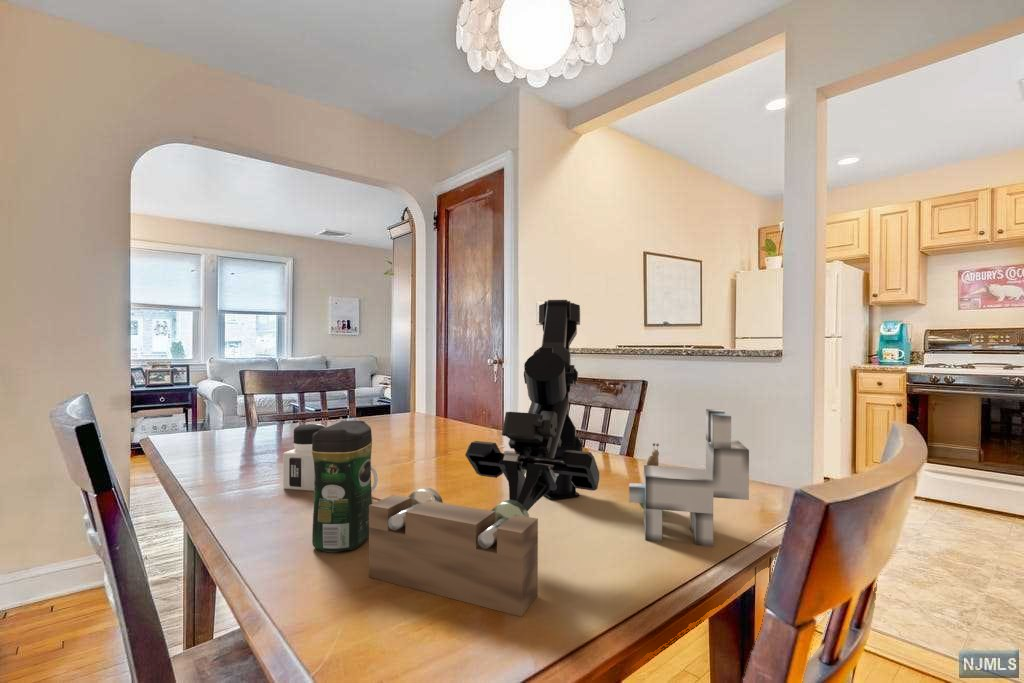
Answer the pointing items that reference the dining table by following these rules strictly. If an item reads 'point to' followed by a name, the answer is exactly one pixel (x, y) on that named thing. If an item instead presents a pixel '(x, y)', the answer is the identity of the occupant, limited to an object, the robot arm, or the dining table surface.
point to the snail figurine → (652, 462)
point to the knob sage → (501, 520)
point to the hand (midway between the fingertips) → (513, 520)
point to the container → (300, 459)
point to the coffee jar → (341, 485)
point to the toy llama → (696, 483)
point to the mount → (455, 553)
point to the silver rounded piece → (414, 505)
